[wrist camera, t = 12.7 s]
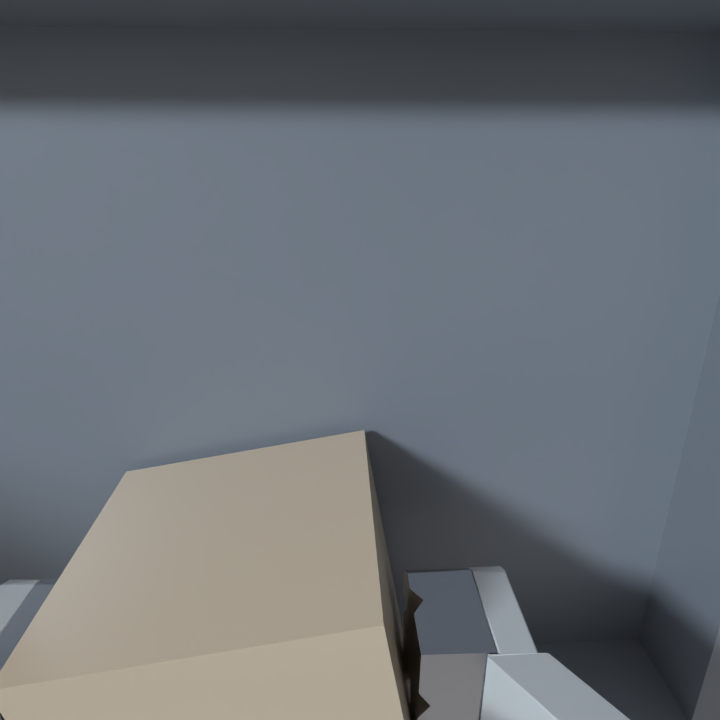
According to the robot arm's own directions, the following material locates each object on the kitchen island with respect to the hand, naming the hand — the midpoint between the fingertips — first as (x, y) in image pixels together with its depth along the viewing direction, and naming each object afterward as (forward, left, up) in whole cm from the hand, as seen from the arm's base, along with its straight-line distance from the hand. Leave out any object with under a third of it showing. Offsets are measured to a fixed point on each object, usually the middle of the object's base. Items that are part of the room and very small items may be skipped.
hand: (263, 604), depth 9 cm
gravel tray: (0, -3, -2) cm, 3 cm away
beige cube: (0, 0, -1) cm, 1 cm away
